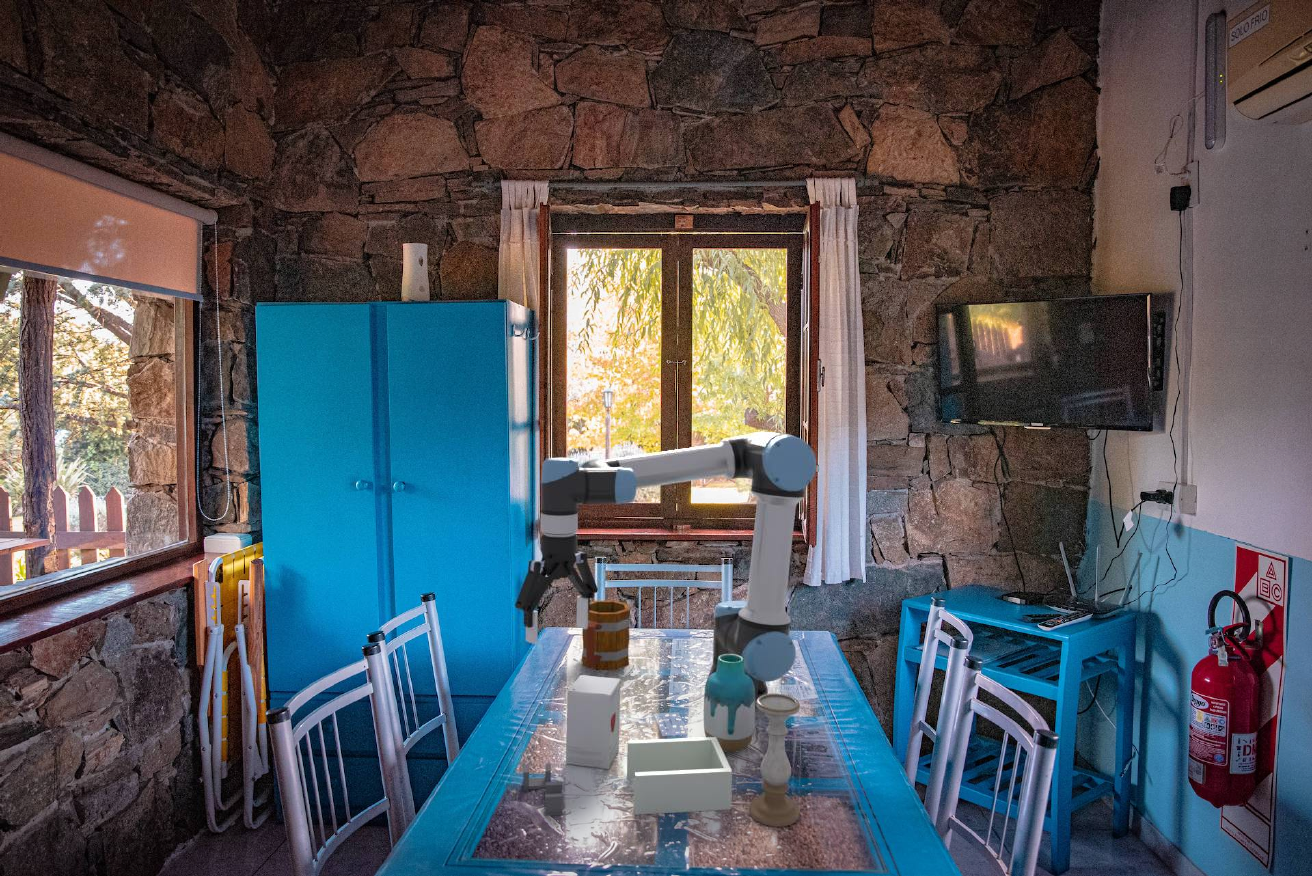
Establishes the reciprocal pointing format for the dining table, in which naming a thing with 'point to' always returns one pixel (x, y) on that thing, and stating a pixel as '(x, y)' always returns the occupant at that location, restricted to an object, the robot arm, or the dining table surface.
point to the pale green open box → (679, 775)
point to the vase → (730, 704)
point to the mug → (606, 636)
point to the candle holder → (775, 765)
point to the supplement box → (593, 721)
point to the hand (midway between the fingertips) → (557, 634)
